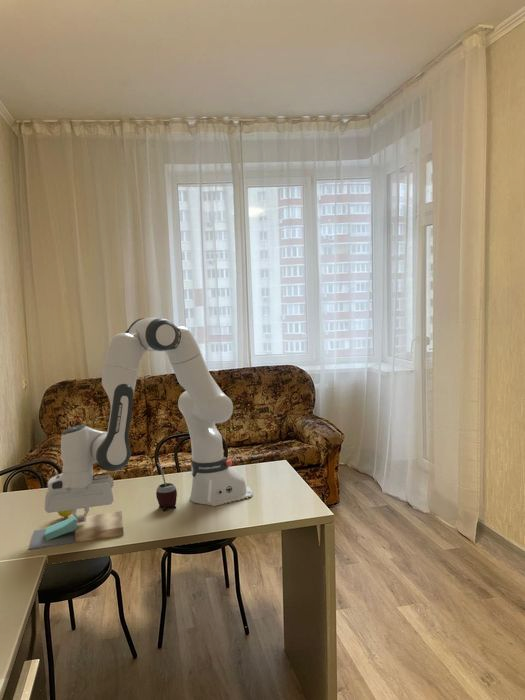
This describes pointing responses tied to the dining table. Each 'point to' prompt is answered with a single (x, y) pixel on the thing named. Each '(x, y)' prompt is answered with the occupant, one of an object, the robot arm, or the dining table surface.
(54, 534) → the turquoise sponge
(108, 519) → the deck
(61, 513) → the lemon
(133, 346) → the robot arm
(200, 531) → the dining table surface
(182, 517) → the dining table surface
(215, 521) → the dining table surface
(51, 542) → the mat
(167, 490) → the mate gourd
